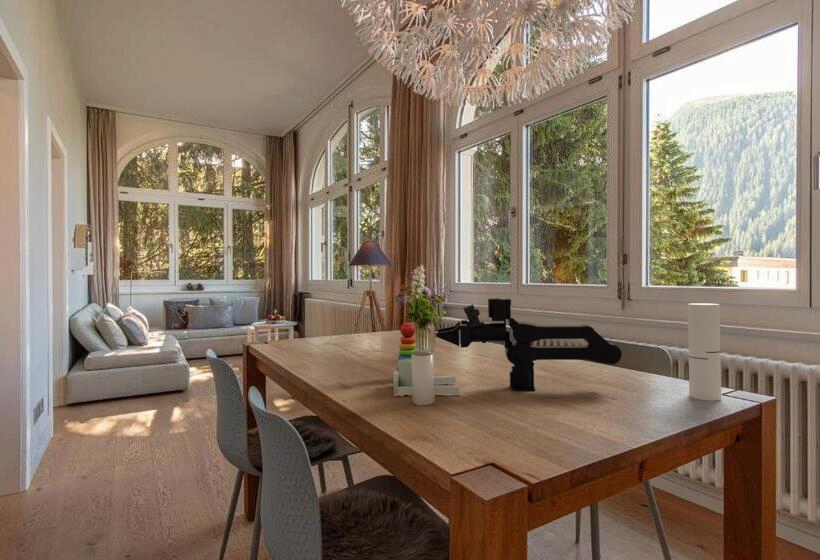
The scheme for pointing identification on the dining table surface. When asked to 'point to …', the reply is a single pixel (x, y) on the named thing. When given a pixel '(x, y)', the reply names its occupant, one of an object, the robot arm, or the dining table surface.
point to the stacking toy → (407, 342)
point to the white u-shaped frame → (438, 389)
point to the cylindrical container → (704, 351)
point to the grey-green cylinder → (405, 372)
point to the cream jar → (423, 377)
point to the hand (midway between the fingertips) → (436, 333)
